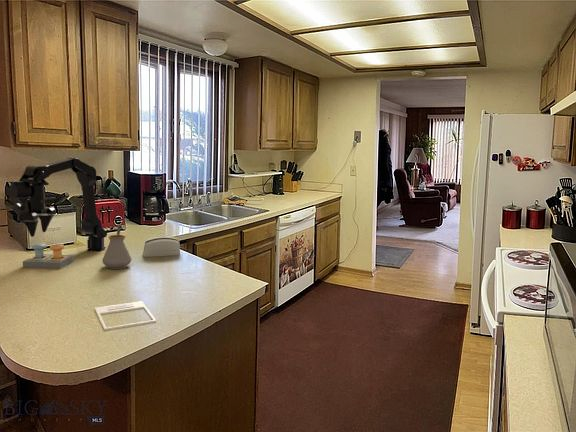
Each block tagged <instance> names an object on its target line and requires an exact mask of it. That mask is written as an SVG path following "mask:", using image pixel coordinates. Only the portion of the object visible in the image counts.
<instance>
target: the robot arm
mask: <svg viewBox="0 0 576 432" xmlns="http://www.w3.org/2000/svg"><path fill="white" fill-rule="evenodd" d="M69 169H70V170H71V172H73V173H75V176H76V179H77V181H78V182H79V184H80V186H81V190H82V199H83V201H82V202H83V208H84V218H83V220H80V225H81V228H80V229H81V230H82V232H83V233H84V235H85V237H88V238H87V240H86V241H87V242H86V243H87V244H86V245H87V246H86V247H87V249H86V251H89V252H90V251H91V252H102V251H103V250H105V249H106V246H105V238H107V236H108V231H106V230H105V228H103V225H102V221H101V219H100V218H99V216H98V215H97V205H96V196H95V186H94V184H95V182H96V180H97V170H96V168H95V167H94V166H92V165H89V164H88V163H85V162H83V161H82V160H80V159H78V158H77V157H67V158H65V159H61V160H57V161H53V162H51V163H46V164H31V165H27V166H26V167H25V169H24V172H23V173H22V175H21V177H20V179H19V180H18V181H10V185H9V186H8V189H7V195H8V197H9V198H10V199H12V200H19V199H25V203H23V204H21V203H19V202H18V203H17V202H16V203H14V204H12V212H14V213H16V215H17V221H19V222H20V223H23V224H24V225H25V226H26V229H27V231H28V233H29V235H30V237H32V238H33V237H35V234H36V231H37V227H38V224H39V219H40V225H41V232H42V233H46V231H48V227H49V225H50V223H51V222H52V219H53V217H54V216H55V214H56V208H55V207H53V206H46V203H45V202H47V200H48V199H47V198H45V186H49V185H50V184H49V182H48V181H46V179H48V178H49V177H50V176H51V175H53V174H55V173H58V172H62V171H66V170H69ZM27 198H28V199H27Z"/></svg>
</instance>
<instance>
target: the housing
mask: <svg viewBox="0 0 576 432" xmlns="http://www.w3.org/2000/svg"><path fill="white" fill-rule="evenodd" d="M74 261H75V260H74V254H62V259H53V254H48V253H46V254H45V253H44V258H43V259H35V255H32V256H31V257H29V258H26V259H25V260H22V268H31V269H33V268H34V269H56V270H57V269H59V270H60V269H62V268H64V267H66V266H68V265H69V264H71V263H72V262H74Z"/></svg>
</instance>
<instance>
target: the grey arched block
mask: <svg viewBox="0 0 576 432" xmlns="http://www.w3.org/2000/svg"><path fill="white" fill-rule="evenodd" d="M178 255H179V256H180V255H181V245H180V240H179V239H178V238H176V237H173V236H156V237H151V238H148V239H146V240H145V242H144V247H143V251H142V256H143V257H144V258H146V257H147V258H148V257H163V256H166V257H167V256H178Z"/></svg>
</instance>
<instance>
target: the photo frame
mask: <svg viewBox="0 0 576 432" xmlns="http://www.w3.org/2000/svg"><path fill="white" fill-rule="evenodd" d="M142 309H144V311H145V312H146V313H147V315H148V316H149V317H150V319H149V320H145V321H138V322H133V323H132V322H131V323H126V324H119V325H114V326H108V327H107V326H106V324H105V321H104V319H103V316H102V315H107V314H113V313H120V312H127V311H133V310H142ZM94 311H95V313H96V315H97V317H98V319H99V321H100V324H101V326H102V328H103V330H104V331H109V330H116V329H120V328H121V329H122V328H127V327H132V326H133V327H134V326H138V325H145V324H151V323H157V319H156V318H155V316H154V315H153V314H152V313H151V310H149V309H148V307H147V306H146V305H145V303H144V302H143V301H142V300H140V301H133V302H126V303H117V304H113V305H105V306H98V307H97V306H95V307H94Z"/></svg>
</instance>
